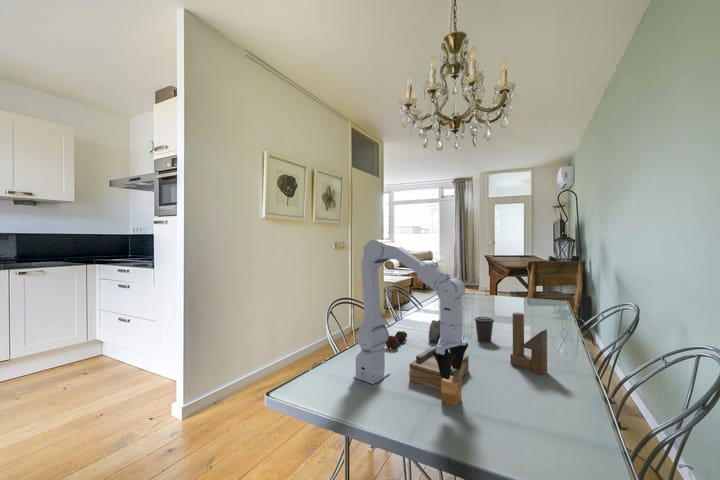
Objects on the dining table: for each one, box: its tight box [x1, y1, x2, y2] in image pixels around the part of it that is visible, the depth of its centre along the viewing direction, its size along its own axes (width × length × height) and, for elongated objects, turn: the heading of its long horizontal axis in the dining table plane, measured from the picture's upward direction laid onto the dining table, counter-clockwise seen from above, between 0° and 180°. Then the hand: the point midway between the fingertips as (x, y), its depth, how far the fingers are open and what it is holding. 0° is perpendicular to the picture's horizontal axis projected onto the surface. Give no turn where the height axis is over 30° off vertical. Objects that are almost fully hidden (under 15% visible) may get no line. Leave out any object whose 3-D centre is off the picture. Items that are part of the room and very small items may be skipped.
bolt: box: [385, 330, 408, 350], centre depth 132 cm, size 6×5×15 cm
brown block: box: [440, 376, 463, 407], centre depth 84 cm, size 4×4×6 cm
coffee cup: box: [474, 316, 495, 343], centre depth 135 cm, size 8×8×10 cm
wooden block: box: [510, 311, 548, 376], centre depth 106 cm, size 4×11×18 cm, turn 34°
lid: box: [409, 345, 470, 377], centre depth 100 cm, size 18×13×5 cm
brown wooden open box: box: [409, 359, 470, 391], centre depth 100 cm, size 18×12×4 cm, turn 141°
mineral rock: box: [428, 319, 440, 344], centre depth 132 cm, size 13×11×10 cm
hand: (451, 373), depth 84 cm, fingers open, 7 cm apart
